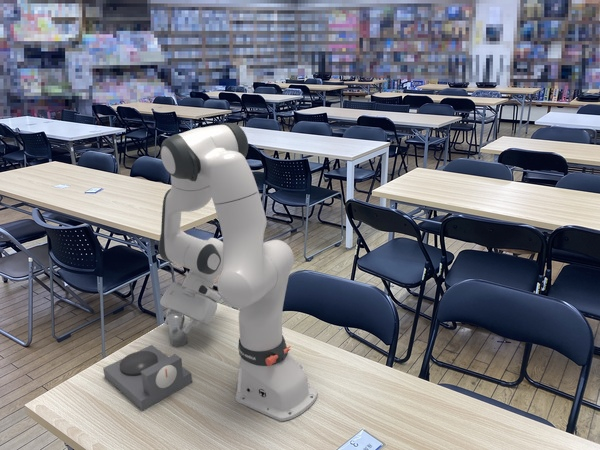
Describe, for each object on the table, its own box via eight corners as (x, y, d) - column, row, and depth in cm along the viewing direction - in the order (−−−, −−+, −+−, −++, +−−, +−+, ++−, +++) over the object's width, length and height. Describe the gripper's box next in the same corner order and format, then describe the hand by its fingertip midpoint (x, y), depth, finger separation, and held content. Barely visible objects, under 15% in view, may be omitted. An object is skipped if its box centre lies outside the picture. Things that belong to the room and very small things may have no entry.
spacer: (190, 342, 148) (187, 313, 145) (176, 349, 145) (173, 320, 142) (181, 336, 152) (177, 308, 148) (167, 342, 148) (163, 314, 145)
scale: (193, 382, 130) (190, 354, 127) (143, 412, 120) (139, 381, 116) (152, 353, 143) (149, 326, 140) (104, 377, 133) (99, 348, 130)
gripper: (168, 275, 153) (146, 315, 149) (213, 292, 142) (192, 335, 138) (180, 282, 158) (160, 321, 154) (225, 299, 147) (204, 341, 143)
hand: (175, 328), depth 146 cm, fingers open, 6 cm apart
